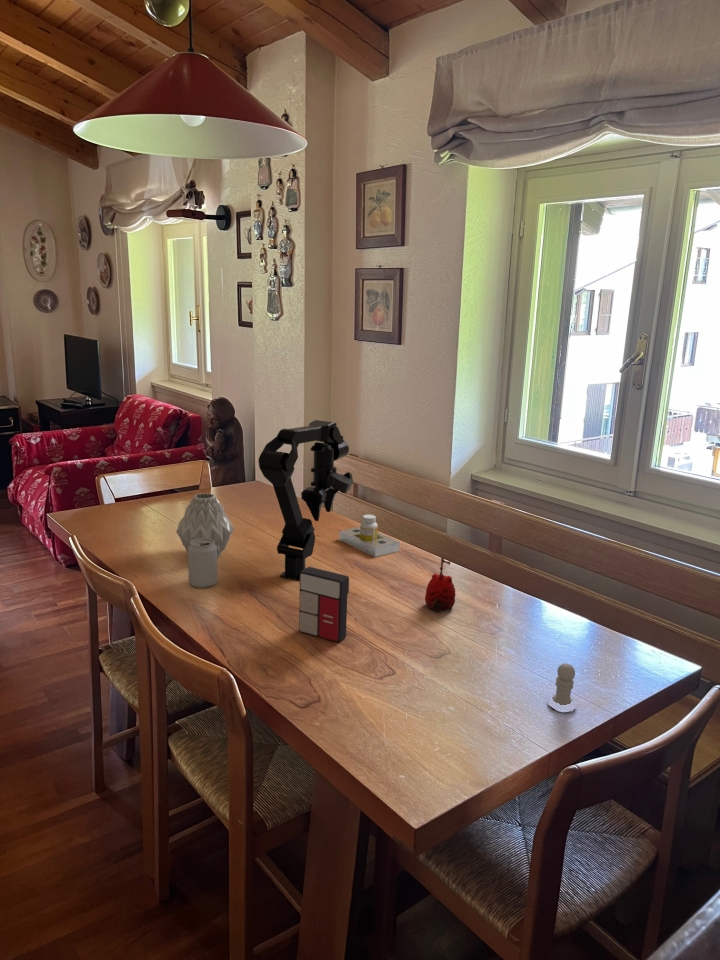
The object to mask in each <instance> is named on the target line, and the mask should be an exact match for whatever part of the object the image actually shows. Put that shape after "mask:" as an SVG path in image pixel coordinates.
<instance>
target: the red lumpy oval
mask: <svg viewBox="0 0 720 960" xmlns="http://www.w3.org/2000/svg"><path fill="white" fill-rule="evenodd" d="M444 563H445V564H447V565H449V566H450V565H451V561H447V560H445V558H444V555H442V556H440V567H439V571H440V572H439V574H438V573H433V574H432V575H431V579H430V580H429V581H428V584H427V586H426V590H425V595H424V601H425V604H426V606H427V607H428V608H430V610H433V611H436V612H437V611H438V612H446V611H445V610H447V611H449V609H450V610H451V609H452V608H453V607H454V605H455V602H456V588H455V585H454V583H453V578H452V576H450V575H445V574H444V573H443V570H444V567H443V566H444Z"/></svg>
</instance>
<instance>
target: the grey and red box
mask: <svg viewBox="0 0 720 960" xmlns="http://www.w3.org/2000/svg"><path fill="white" fill-rule="evenodd" d="M349 588H350V577H349V576H348V575H345V574H341V573H336V572H334V571H328V570H325V569H320V568H315V567H313V566H312V567H311V566H308V567H305V569H304V570H302V571H301V572H300V580H299V604H298V605H299V613H298V616H299V618H298V625H299V626H298V629H299V632H301V633H305V634H308V635H312V636H314V637H319V638H322V639H325V640H329V641H333V642H335V641H336V643H341V642H342V641H343V640H345V638H346V637H347V616H348V612H347V611H348V595H349V591H350V589H349Z"/></svg>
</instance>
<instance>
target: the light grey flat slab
mask: <svg viewBox="0 0 720 960" xmlns="http://www.w3.org/2000/svg"><path fill="white" fill-rule="evenodd" d="M338 539H339V541H340V542H342V543H344V544H347V545H348V546H351V547H352V548H355V549H356V550H359V551H361V552H364V553H365V554H368V555H370V556H372V557H373V558H377V557H381V556H385V555H389V554H393V553H397V552H400V541H399V540H396V539H394V538H392V537H389V536H387V535H385V534H382V533H380V532H378V531H377V540H372V541H368V542H367V541H365V540H362V539H360V526H357V527H351V528H348V529H344V530H339V538H338Z"/></svg>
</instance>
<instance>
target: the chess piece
mask: <svg viewBox="0 0 720 960" xmlns="http://www.w3.org/2000/svg"><path fill="white" fill-rule="evenodd" d="M556 673H557V676H556V677H555V686H556V689H555V694H554V695H552V696H553V697H552V699H553V701H554V702H556V703H559V704H560V705H567V704H570V703H571V701H572V700H573V699H572V698H571V694H572V690H573V688H574V683H575V681H574V679H575V675H576V671H575V667H573V665H571V664H570V663H567V662H566V663H561V664H560V665H559V666H558V668H557V672H556Z"/></svg>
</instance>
